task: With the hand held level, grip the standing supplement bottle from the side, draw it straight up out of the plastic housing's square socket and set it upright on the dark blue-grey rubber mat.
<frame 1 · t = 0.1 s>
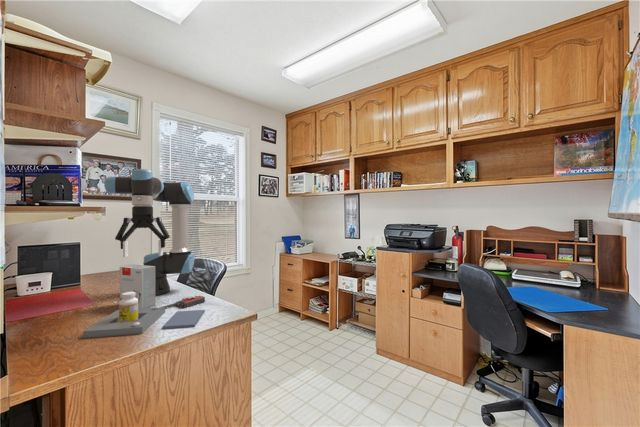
hand: (143, 256, 120), 28 cm above the table, tool pointing down, fingers open, 13 cm apart
housing: (128, 323, 118), on the table
walkie-talkie: (184, 306, 141), on the table
mat: (185, 319, 122), on the table
supplement bottle: (128, 324, 118), resting in housing
hard drive box: (137, 306, 141), on the table
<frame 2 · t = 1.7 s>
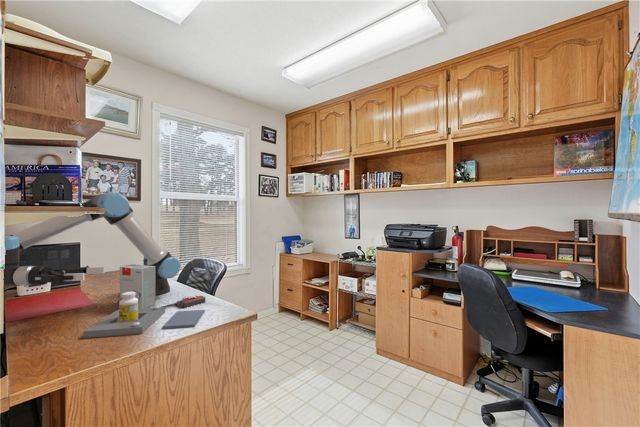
hand: (94, 273, 116), 22 cm above the table, tool horizontal, fingers open, 13 cm apart
nothing on the table moved.
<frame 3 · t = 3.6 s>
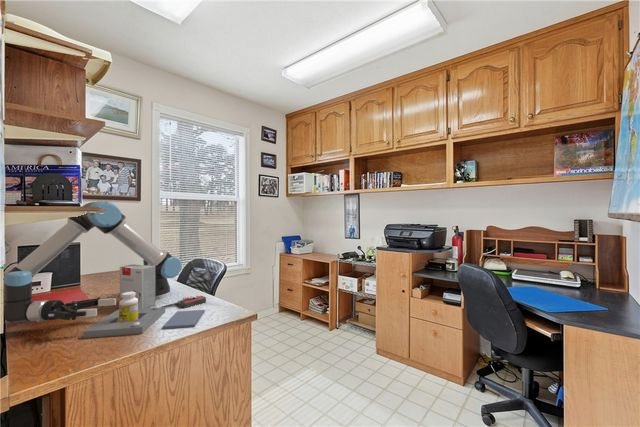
hand: (106, 306, 116), 8 cm above the table, tool horizontal, fingers open, 13 cm apart
nothing on the table moved.
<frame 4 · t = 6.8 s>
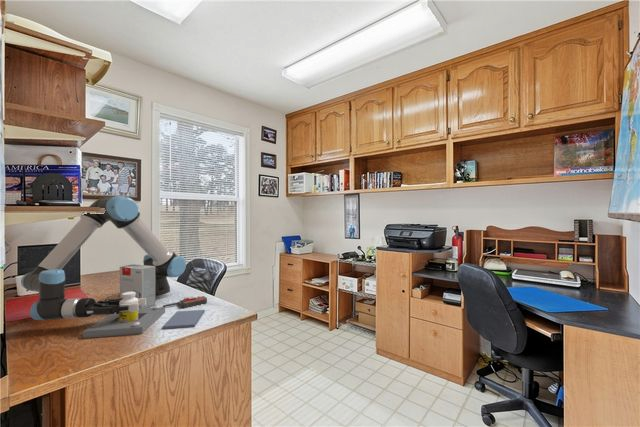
hand: (141, 304, 119), 8 cm above the table, tool horizontal, fingers closed on supplement bottle, 7 cm apart
supplement bottle: (128, 324, 118), resting in housing, touching gripper
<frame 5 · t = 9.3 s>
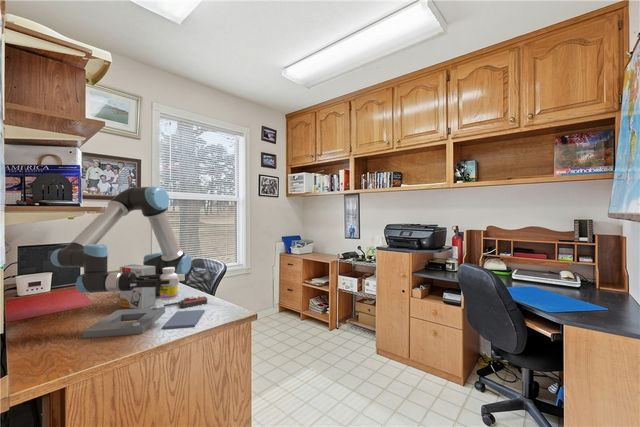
hand: (181, 279, 120), 18 cm above the table, tool horizontal, fingers closed on supplement bottle, 7 cm apart
supplement bottle: (168, 298, 119), point 10 cm above the table, touching gripper
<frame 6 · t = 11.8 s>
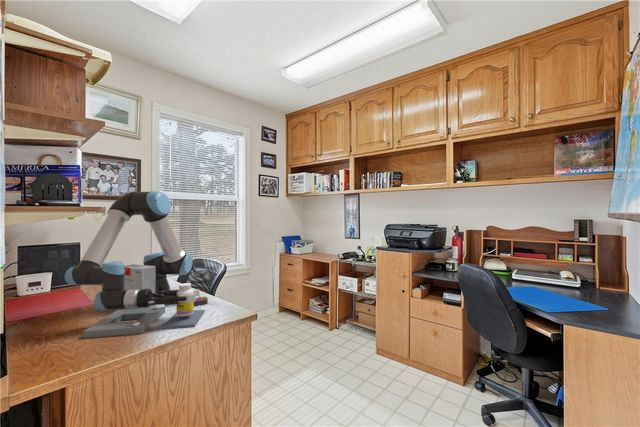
hand: (197, 295, 123), 10 cm above the table, tool horizontal, fingers closed on supplement bottle, 7 cm apart
supplement bottle: (185, 314, 122), point 2 cm above the table, touching gripper
when the fingers open (10 cm above the table, at t = 11.9 s): supplement bottle drops 1 cm, resting on mat.
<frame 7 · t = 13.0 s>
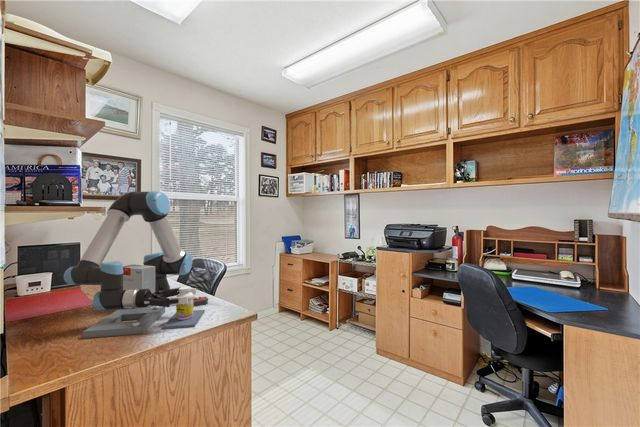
hand: (192, 295, 122), 10 cm above the table, tool horizontal, fingers open, 13 cm apart
supplement bottle: (185, 318, 122), point 1 cm above the table, touching mat
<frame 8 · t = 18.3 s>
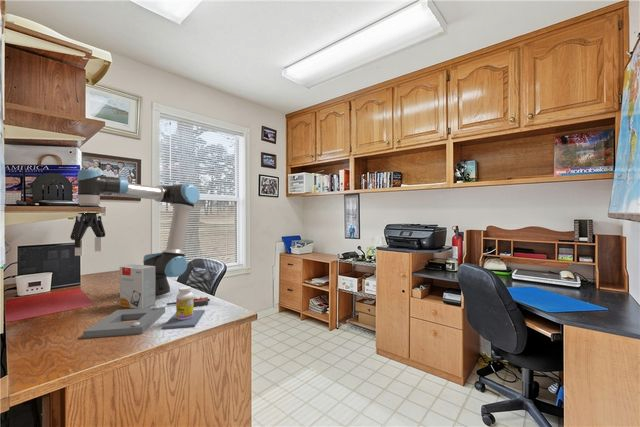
hand: (89, 253, 124), 29 cm above the table, tool pointing down, fingers open, 13 cm apart
at the end: supplement bottle inside the target area on the mat (0.2 cm from its centre), point 0.8 cm above the mat's base; supplement bottle tilted 0°; the gripper is holding nothing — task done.
